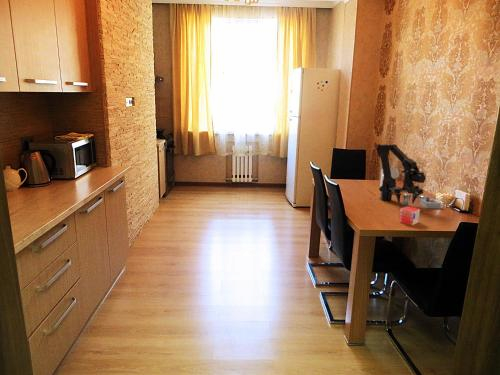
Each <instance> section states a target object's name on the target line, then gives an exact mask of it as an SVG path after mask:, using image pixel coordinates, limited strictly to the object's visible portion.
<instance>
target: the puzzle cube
mask: <svg viewBox="0 0 500 375" xmlns="http://www.w3.org/2000/svg"><path fill="white" fill-rule="evenodd" d="M420 211H421V208H416V207H412V206H403V207H401V208H399V216H398V223H402V224H406V225H409V226H413V225H416V224H418V223H419V219H420Z"/></svg>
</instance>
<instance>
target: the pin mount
mask: <svg viewBox="0 0 500 375" xmlns="http://www.w3.org/2000/svg"><path fill="white" fill-rule="evenodd" d="M422 196H424V197H426V198H427V201H428V199H431V197H430V196H427V195H422ZM422 196H419V198H417V199H418V200H417V202H419V203H420V199H424V197H422Z"/></svg>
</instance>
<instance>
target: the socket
mask: <svg viewBox="0 0 500 375" xmlns="http://www.w3.org/2000/svg"><path fill="white" fill-rule="evenodd" d="M419 204H420V206H422V207H424V208H426V209H441V207H442V202H439V201H438V200H436V199H433V198H430V199H428V201H427V200H426V199H420V202H419Z"/></svg>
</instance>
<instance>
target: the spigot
mask: <svg viewBox="0 0 500 375" xmlns="http://www.w3.org/2000/svg"><path fill="white" fill-rule="evenodd" d="M411 195H412V194H409V193H402V196H403V197H402V205H401V206H403V207H406V206H408V207H410V199H411Z"/></svg>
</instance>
